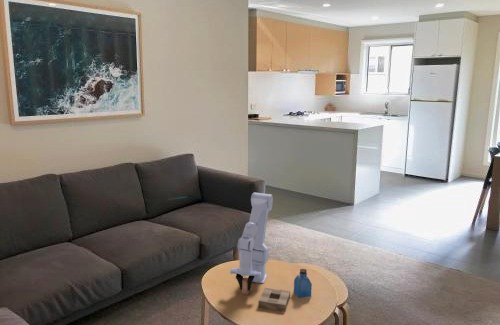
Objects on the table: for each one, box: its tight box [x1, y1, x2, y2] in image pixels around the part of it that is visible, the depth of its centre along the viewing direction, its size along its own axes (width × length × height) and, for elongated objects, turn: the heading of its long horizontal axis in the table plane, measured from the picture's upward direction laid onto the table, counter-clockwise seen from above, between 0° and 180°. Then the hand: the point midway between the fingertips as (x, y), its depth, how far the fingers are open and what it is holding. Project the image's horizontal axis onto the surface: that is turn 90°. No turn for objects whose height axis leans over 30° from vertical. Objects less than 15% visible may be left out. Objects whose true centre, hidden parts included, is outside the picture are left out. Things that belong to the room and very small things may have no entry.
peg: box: [241, 277, 250, 296], centre depth 187 cm, size 3×3×7 cm
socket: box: [258, 287, 291, 312], centre depth 180 cm, size 12×12×3 cm
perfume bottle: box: [293, 268, 312, 299], centre depth 187 cm, size 6×6×12 cm
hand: (245, 289), depth 188 cm, fingers closed on peg, 3 cm apart
